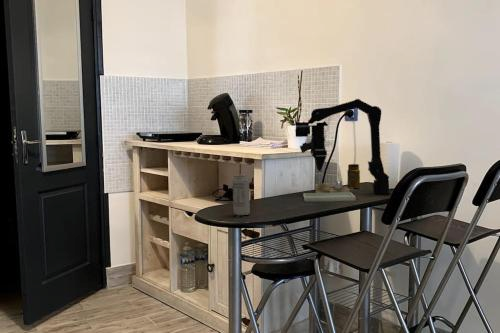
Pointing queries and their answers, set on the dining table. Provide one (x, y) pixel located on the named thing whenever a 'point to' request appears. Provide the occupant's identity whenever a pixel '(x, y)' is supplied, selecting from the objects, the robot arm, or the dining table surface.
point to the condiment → (353, 175)
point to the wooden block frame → (325, 188)
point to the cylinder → (338, 185)
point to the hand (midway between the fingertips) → (318, 170)
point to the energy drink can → (241, 194)
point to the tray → (328, 197)
